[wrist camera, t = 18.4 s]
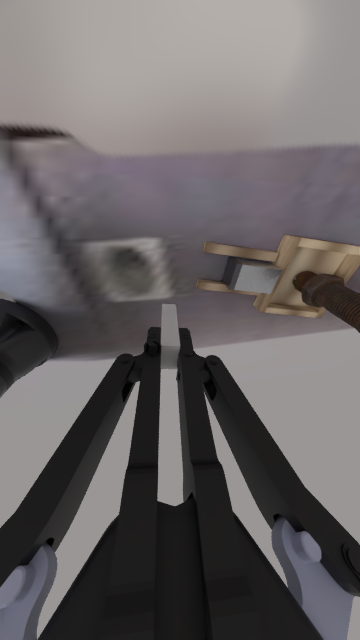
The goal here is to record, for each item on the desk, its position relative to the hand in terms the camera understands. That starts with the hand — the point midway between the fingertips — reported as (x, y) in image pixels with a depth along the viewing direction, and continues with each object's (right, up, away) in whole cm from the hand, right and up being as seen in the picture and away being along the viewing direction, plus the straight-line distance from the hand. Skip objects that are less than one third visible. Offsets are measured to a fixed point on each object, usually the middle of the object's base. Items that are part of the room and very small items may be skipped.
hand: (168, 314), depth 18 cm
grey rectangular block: (+12, +7, +8) cm, 16 cm away
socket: (+16, +7, +8) cm, 19 cm away
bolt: (+21, +6, +8) cm, 23 cm away
